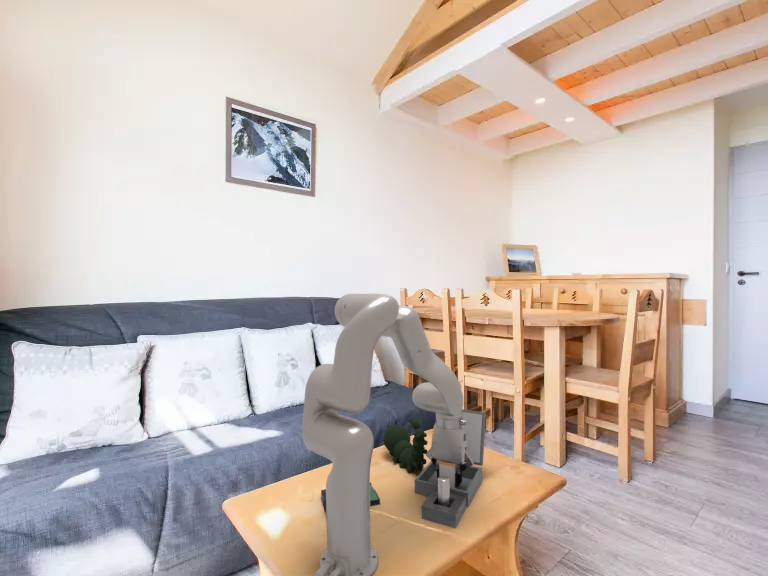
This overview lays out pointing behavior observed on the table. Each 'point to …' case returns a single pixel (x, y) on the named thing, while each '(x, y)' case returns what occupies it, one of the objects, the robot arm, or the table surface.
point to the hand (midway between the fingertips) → (449, 482)
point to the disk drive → (373, 497)
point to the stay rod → (444, 491)
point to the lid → (475, 434)
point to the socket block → (444, 509)
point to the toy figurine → (406, 445)
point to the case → (467, 488)
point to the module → (448, 471)
